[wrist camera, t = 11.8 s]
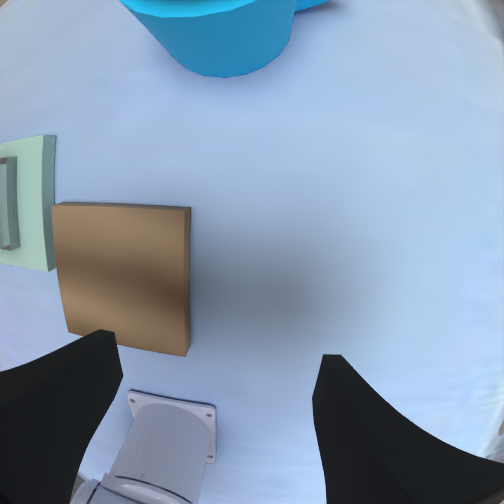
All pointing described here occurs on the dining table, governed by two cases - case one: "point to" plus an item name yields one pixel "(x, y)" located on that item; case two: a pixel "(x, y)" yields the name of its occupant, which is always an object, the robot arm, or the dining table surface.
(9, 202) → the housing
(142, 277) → the stand
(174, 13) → the mug
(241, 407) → the dining table surface
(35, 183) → the stand
